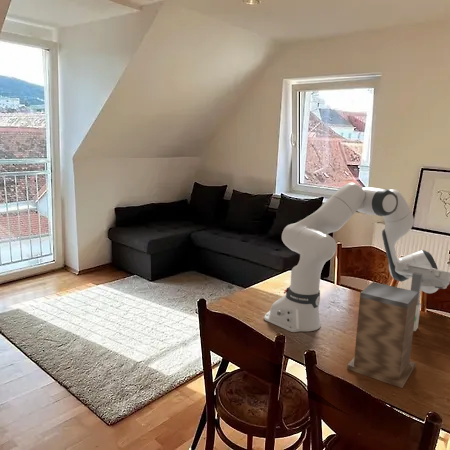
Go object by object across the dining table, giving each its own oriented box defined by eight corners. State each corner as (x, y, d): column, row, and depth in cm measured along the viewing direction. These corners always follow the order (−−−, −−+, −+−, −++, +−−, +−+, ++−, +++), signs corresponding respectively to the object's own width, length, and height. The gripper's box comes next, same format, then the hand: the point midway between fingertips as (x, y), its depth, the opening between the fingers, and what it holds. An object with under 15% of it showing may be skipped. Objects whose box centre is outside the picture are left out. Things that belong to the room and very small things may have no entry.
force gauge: (406, 324, 171) (403, 328, 168) (412, 271, 166) (409, 274, 163) (417, 327, 169) (415, 331, 165) (424, 274, 164) (421, 277, 160)
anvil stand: (347, 369, 138) (353, 292, 133) (363, 350, 150) (370, 279, 144) (402, 388, 129) (412, 306, 123) (414, 366, 140) (424, 291, 135)
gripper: (400, 264, 183) (393, 255, 172) (453, 274, 171) (450, 265, 160) (396, 278, 181) (389, 270, 171) (450, 289, 170) (446, 281, 159)
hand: (419, 268), depth 165 cm, fingers open, 8 cm apart
